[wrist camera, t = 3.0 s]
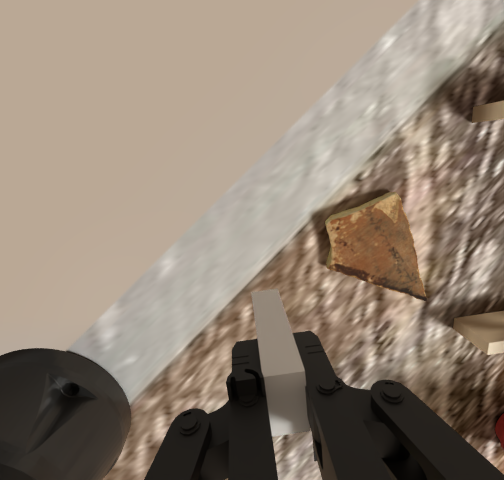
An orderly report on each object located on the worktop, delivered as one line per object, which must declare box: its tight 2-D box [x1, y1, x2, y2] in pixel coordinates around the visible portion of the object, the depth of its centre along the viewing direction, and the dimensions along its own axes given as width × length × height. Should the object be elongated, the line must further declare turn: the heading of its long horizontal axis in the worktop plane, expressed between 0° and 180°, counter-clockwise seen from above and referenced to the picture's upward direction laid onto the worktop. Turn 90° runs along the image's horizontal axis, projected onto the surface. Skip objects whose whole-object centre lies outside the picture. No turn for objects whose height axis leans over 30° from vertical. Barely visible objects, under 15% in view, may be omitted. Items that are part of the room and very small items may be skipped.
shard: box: [325, 192, 427, 301], centre depth 26 cm, size 11×8×2 cm
